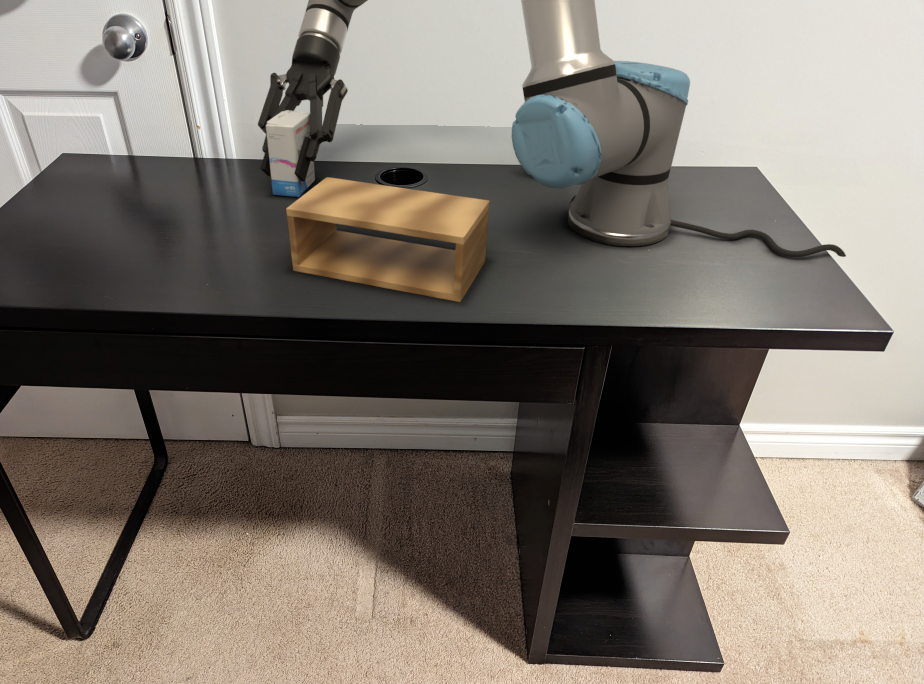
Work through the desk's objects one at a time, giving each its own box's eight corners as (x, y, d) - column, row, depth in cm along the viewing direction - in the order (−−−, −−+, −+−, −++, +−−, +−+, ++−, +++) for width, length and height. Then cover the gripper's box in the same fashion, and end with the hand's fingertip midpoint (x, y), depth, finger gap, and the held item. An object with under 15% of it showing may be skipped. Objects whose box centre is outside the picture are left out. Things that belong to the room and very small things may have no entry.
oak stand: (485, 261, 96) (490, 200, 90) (460, 302, 87) (463, 237, 81) (331, 235, 102) (326, 176, 97) (293, 270, 93) (285, 208, 88)
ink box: (300, 198, 114) (293, 125, 106) (272, 195, 114) (263, 123, 107) (316, 180, 120) (311, 110, 113) (290, 177, 121) (282, 108, 114)
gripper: (376, 65, 116) (341, 192, 114) (280, 56, 121) (244, 178, 119) (362, 36, 109) (325, 171, 106) (260, 28, 114) (222, 157, 111)
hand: (282, 174), depth 112 cm, fingers closed on ink box, 5 cm apart
